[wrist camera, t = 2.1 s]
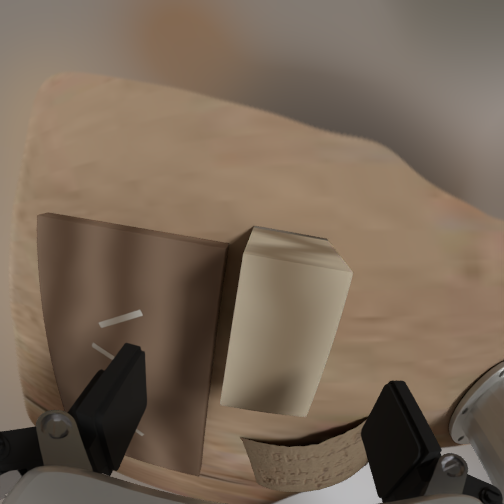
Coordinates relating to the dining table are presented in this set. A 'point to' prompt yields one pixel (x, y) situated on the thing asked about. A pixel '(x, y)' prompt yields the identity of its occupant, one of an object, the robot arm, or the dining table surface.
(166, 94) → the dining table surface
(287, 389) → the cream carton
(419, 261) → the dining table surface
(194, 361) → the walnut board
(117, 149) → the dining table surface
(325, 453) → the clay tablet
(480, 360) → the dining table surface
